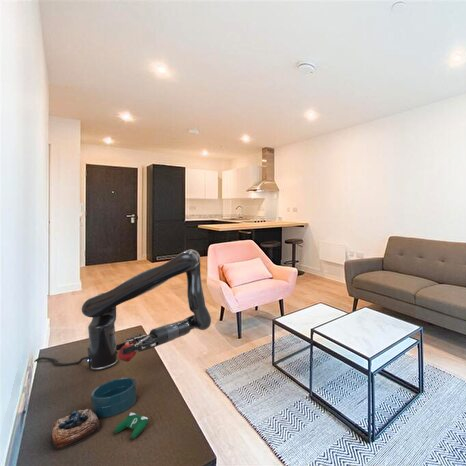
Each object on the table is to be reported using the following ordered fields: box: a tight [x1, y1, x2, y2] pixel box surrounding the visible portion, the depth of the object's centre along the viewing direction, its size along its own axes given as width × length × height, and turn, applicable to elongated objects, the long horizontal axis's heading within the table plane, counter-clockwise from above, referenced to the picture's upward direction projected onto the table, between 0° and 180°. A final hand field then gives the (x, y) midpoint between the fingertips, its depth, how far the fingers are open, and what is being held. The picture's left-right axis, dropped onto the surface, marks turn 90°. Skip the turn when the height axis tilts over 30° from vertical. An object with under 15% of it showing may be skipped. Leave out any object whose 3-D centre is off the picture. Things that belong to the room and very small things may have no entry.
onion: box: [117, 342, 137, 363], centre depth 117 cm, size 6×6×8 cm
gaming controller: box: [114, 412, 149, 440], centre depth 95 cm, size 9×4×6 cm
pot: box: [91, 377, 137, 419], centre depth 106 cm, size 12×12×7 cm
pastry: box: [51, 408, 100, 450], centre depth 93 cm, size 11×12×6 cm
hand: (119, 349), depth 115 cm, fingers closed on onion, 5 cm apart
